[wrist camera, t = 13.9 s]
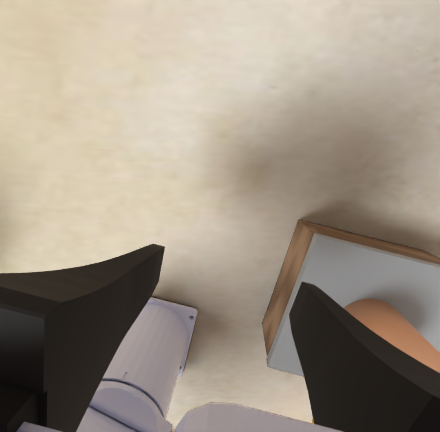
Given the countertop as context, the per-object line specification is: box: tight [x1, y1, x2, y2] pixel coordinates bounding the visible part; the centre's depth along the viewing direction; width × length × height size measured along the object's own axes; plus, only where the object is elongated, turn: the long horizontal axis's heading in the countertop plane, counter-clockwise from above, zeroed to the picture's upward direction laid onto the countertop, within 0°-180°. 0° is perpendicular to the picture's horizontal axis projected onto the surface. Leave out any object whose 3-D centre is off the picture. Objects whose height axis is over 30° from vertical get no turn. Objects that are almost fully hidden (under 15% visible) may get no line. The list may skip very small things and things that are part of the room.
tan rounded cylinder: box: [344, 299, 440, 373], centre depth 16 cm, size 5×5×4 cm
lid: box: [267, 233, 440, 377], centre depth 18 cm, size 12×12×1 cm
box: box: [262, 220, 440, 356], centre depth 21 cm, size 12×12×4 cm
